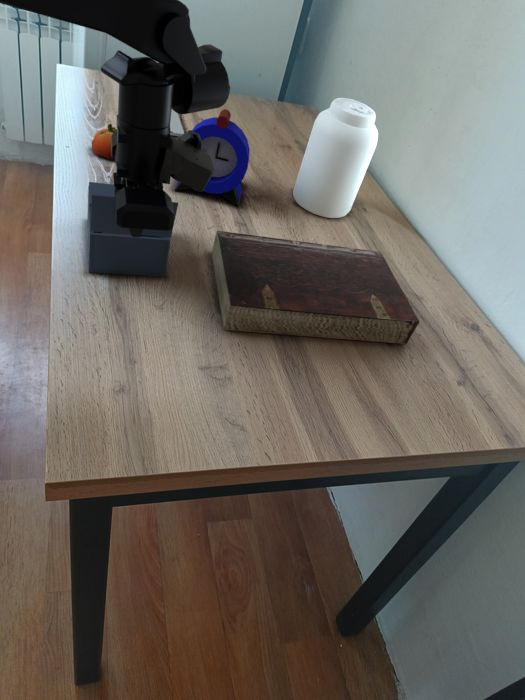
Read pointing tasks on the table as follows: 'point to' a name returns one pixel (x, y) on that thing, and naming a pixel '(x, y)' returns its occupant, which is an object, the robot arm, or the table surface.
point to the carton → (124, 247)
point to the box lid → (106, 217)
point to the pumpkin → (103, 142)
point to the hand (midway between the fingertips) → (136, 235)
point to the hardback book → (308, 290)
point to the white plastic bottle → (336, 158)
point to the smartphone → (176, 125)
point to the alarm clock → (223, 156)
